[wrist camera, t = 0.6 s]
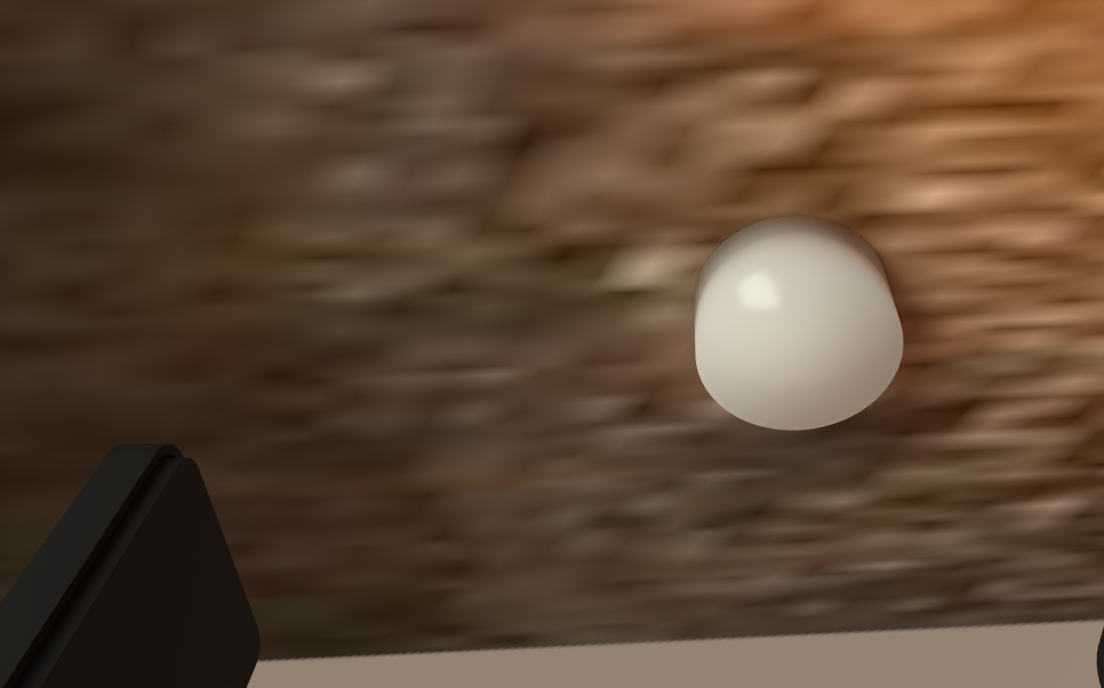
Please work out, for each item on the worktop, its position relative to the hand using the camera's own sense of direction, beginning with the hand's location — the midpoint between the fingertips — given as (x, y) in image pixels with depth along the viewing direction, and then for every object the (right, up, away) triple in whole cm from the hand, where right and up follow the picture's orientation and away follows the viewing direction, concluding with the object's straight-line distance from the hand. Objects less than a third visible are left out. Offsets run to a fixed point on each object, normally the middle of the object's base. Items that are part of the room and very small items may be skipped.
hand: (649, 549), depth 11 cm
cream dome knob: (+9, +4, +34) cm, 35 cm away
